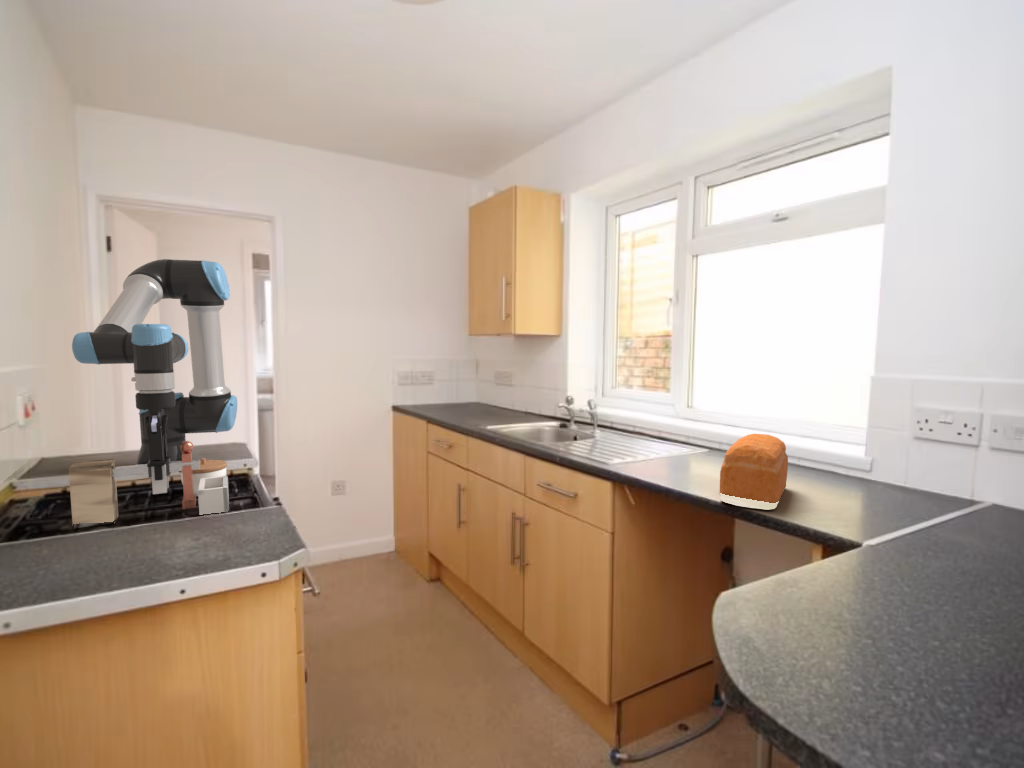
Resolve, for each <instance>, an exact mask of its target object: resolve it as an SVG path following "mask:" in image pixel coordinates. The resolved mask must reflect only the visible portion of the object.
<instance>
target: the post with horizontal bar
mask: <svg viewBox="0 0 1024 768" xmlns="http://www.w3.org/2000/svg"><path fill="white" fill-rule="evenodd" d="M179 448H180V451H182V461H173V462H170V458H167V459H164V461H165V464H166V476H168V477H169V476H171V473H173V472H180V471H182V472H183V484H182V486H183V487H182V488H183V496H182V500H181V503H182V504H181V506H182V510H187V509H195V508H196V506H197V496H196V495H194V487H193V470H194V469H200V461H201V458H198V459H197V458H196V459H194V458H193V460H192V457H193V455H192V451H193V449H194V444H193V443H192V442H191V441H188V440H186V441H184V442H182V443H181V444H180V446H179ZM149 462H150V460H149ZM149 462H148V464H149ZM165 464H164V465H165ZM111 472H112V478H115V477H116V478H122V477H125V478H126V477H135V476H142V475H148V479H150V478H151V479H152V472H151V467H147V464H141V465H136V464H134V465H133V464H132V465H130V464H129V465H121V466H120V465H119V466H115V467H111Z"/></svg>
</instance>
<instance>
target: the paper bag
mask: <svg viewBox="0 0 1024 768" xmlns="http://www.w3.org/2000/svg"><path fill="white" fill-rule="evenodd" d="M111 467H116V461H115V458H108V459H97V460H85V461H75V462H74V463H72V465H70V466H69V467H68V479H69V481H68V482H69V490H70V491H69V493H70V506H71V507H70V509H71V520H72V525H73V524H79V523H104V522H113V521H114V520H115V519H116V518H117V519H118V518H119V507H118V506H119V505H118V504H119V503H118V491H117V477H115V478H112V472H111ZM117 519H116V520H117Z"/></svg>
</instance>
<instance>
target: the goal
mask: <svg viewBox="0 0 1024 768" xmlns="http://www.w3.org/2000/svg"><path fill="white" fill-rule="evenodd" d="M197 497H199V504H198V510H199V511H198V512H199V513H198V514H199V515H203V514H211V513H219V514H222V513H221V512H226V513H229V512H230V506H229V505H230V502H229V501H230V500H229V499H230V497H229V477H228V475H227V474H226V476H218V477H209V478H200V484H199V489H198V496H197ZM228 511H229V512H228ZM211 515H212V514H211Z"/></svg>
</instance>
